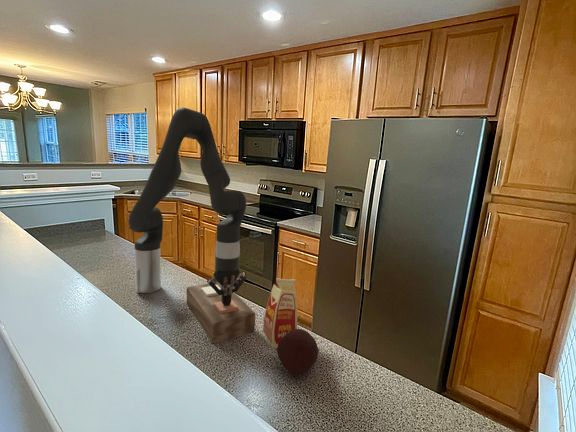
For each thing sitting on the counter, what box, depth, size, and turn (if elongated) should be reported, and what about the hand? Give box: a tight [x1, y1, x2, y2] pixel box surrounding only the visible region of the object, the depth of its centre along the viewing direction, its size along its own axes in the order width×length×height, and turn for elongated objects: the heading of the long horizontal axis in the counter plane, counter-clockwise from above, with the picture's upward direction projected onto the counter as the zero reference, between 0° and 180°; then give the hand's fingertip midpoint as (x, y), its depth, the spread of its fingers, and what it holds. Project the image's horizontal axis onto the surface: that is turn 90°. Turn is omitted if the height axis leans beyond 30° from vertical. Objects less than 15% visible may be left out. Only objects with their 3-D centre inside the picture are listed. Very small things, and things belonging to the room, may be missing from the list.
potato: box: [276, 328, 319, 378], centre depth 84 cm, size 11×13×10 cm
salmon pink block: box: [214, 300, 238, 314], centre depth 102 cm, size 6×6×4 cm
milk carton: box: [262, 277, 298, 349], centre depth 97 cm, size 9×9×20 cm
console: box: [186, 281, 257, 344], centre depth 108 cm, size 14×28×6 cm, turn 33°
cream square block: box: [201, 285, 221, 297], centre depth 113 cm, size 6×6×4 cm
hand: (226, 304), depth 102 cm, fingers closed
